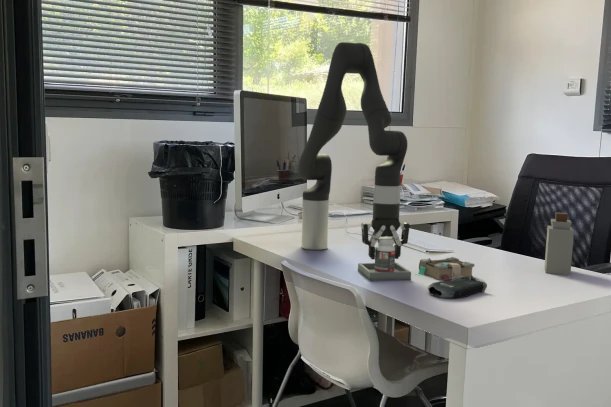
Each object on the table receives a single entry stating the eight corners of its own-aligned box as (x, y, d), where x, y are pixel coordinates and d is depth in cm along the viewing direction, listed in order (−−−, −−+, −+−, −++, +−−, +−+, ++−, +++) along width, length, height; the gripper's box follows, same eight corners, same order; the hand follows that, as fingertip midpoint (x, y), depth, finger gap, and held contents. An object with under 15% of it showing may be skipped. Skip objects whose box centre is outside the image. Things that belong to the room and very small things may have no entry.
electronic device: (455, 290, 158) (419, 291, 148) (461, 271, 157) (425, 270, 148) (483, 303, 150) (447, 304, 141) (489, 283, 150) (453, 283, 140)
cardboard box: (426, 285, 158) (427, 267, 157) (402, 274, 169) (403, 258, 168) (484, 279, 166) (485, 262, 165) (457, 269, 177) (458, 253, 176)
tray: (357, 270, 170) (358, 263, 170) (396, 269, 173) (396, 262, 172) (369, 281, 159) (370, 273, 158) (410, 280, 161) (411, 272, 161)
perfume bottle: (568, 270, 177) (572, 212, 175) (570, 275, 171) (575, 215, 169) (544, 268, 179) (548, 211, 177) (545, 273, 173) (550, 213, 171)
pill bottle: (393, 275, 162) (395, 241, 161) (373, 274, 163) (375, 239, 162) (394, 270, 168) (396, 237, 167) (375, 269, 169) (376, 236, 168)
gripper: (405, 199, 168) (403, 255, 170) (358, 199, 165) (356, 256, 168) (415, 202, 161) (412, 261, 163) (366, 202, 158) (363, 262, 160)
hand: (384, 258), depth 165 cm, fingers open, 6 cm apart
